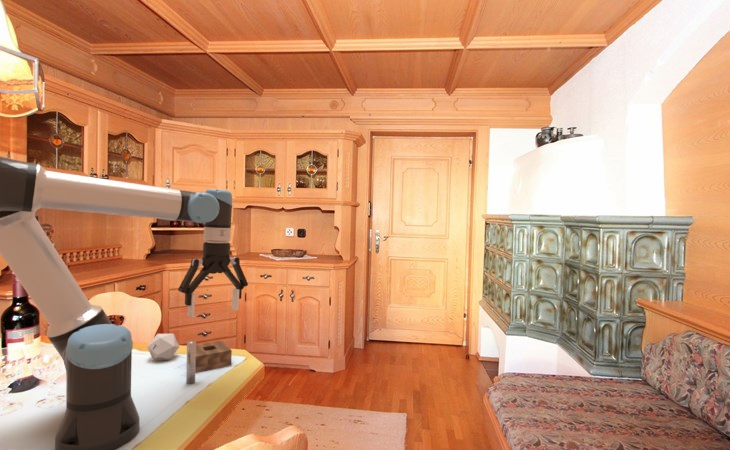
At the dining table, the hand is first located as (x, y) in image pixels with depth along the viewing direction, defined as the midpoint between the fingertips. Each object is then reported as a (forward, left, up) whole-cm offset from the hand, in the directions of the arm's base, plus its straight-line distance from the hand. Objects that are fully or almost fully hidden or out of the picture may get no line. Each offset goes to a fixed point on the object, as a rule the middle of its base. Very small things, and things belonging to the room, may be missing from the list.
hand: (213, 313), depth 112 cm
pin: (-6, +1, -20) cm, 21 cm away
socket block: (+2, +13, -20) cm, 24 cm away
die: (-10, +25, -20) cm, 34 cm away
